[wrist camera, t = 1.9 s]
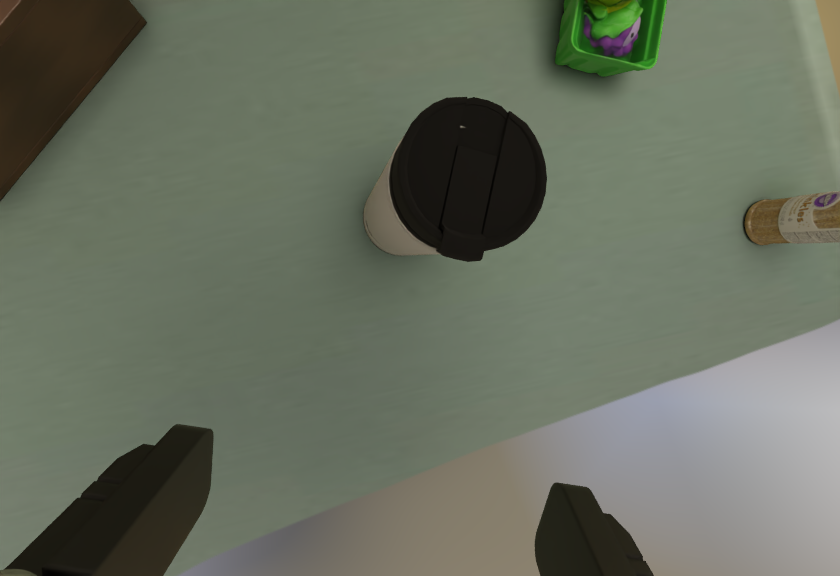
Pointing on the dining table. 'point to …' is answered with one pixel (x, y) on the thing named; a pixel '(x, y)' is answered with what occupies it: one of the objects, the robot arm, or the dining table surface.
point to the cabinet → (52, 68)
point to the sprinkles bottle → (795, 219)
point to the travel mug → (458, 183)
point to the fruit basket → (610, 35)
